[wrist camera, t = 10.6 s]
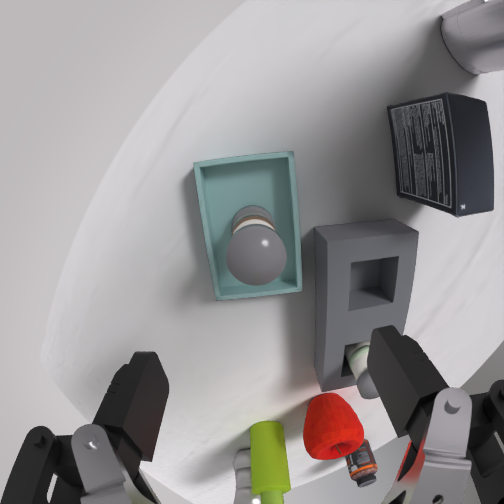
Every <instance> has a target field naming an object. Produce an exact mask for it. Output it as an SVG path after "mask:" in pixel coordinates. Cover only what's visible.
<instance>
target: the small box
mask: <svg viewBox="0 0 504 504" xmlns="http://www.w3.org/2000/svg"><path fill="white" fill-rule="evenodd" d="M387 109H388V115H389V121H390V127H391V134H392V142H393V150H394V159H395V170H396V182H397V195H398V196H399V197H400V198H406V199H409V200H412V201H415V202H418V203H421V204H424V205H427V206H430V207H433V208H436V209H438V210H441V211H444V212H447V213H450V214H452V215H453V216H455V217H461V216H467V215H472V214H478V213H483V212H488V211H493V210H494V166H493V150H492V140H491V131H490V123H489V117H488V111H487V105H486V102H485V101H482V100H479V99H475V98H471V97H467V96H463V95H458V94H453V93H448V92H446V93H442V94H440V95H435V96H431V97H426V98H421V99H417V100H412V101H409V102H405V103H400V104H397V105H390V106H388V107H387Z"/></svg>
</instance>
